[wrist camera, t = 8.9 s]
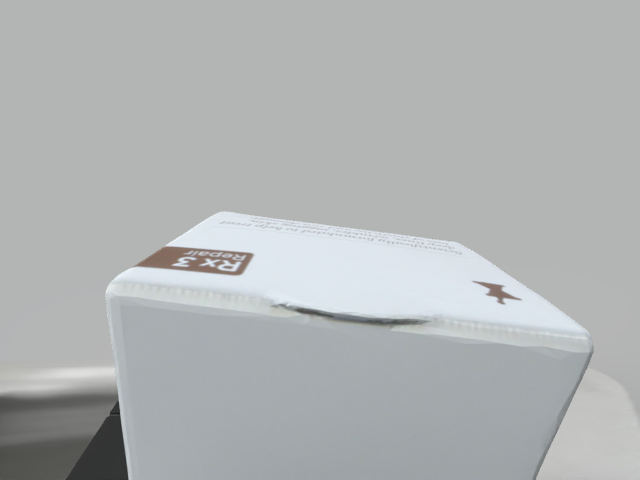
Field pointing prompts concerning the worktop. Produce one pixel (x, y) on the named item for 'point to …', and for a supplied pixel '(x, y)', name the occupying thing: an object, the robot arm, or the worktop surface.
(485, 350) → the skincare box
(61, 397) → the worktop surface
